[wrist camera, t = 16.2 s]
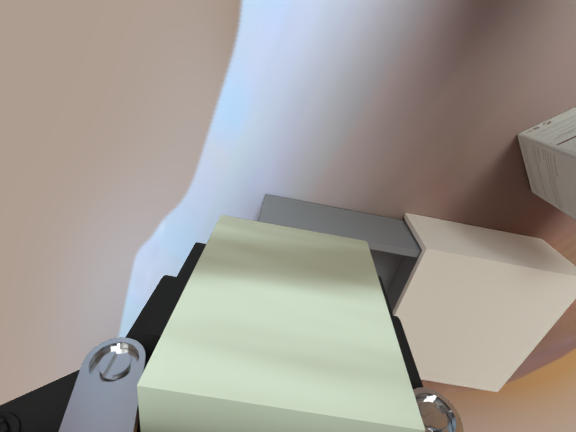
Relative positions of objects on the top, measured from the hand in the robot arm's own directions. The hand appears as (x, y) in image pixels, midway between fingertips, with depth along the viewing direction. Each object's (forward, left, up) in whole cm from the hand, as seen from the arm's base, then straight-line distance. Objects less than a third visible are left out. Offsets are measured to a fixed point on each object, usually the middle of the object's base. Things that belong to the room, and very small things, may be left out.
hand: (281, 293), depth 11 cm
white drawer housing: (+15, +22, -23) cm, 35 cm away
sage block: (0, 0, -1) cm, 1 cm away
